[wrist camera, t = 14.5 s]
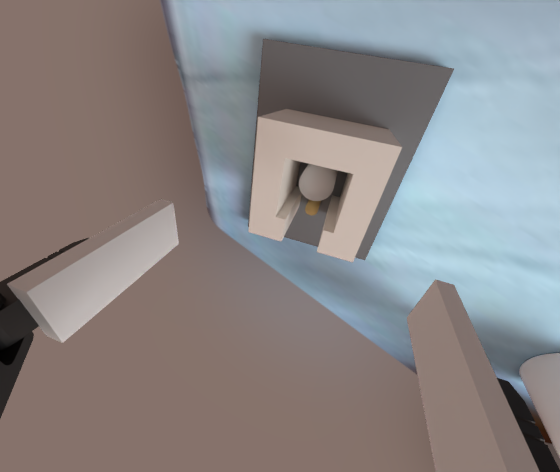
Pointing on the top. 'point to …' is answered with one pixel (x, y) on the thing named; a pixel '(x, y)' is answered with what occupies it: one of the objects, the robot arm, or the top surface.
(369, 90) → the base plate
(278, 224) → the beige notched hollow block
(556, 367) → the candle holder
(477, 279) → the top surface
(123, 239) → the robot arm
